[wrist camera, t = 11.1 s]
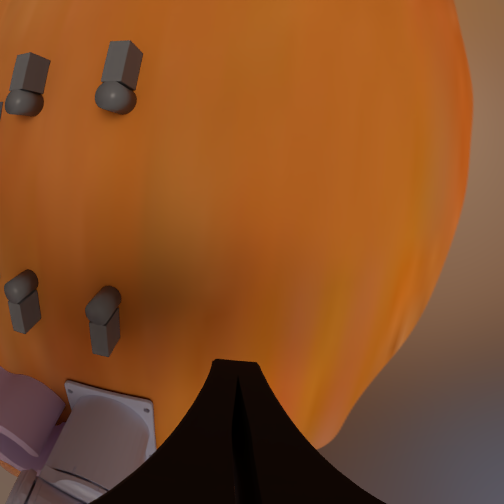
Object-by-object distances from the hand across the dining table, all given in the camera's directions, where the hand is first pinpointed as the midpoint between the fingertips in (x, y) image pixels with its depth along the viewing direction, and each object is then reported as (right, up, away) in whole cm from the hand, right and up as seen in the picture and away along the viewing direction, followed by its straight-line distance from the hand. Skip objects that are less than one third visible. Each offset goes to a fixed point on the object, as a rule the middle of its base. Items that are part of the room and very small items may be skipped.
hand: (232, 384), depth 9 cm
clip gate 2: (-8, +7, +8) cm, 13 cm away
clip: (-27, -10, +13) cm, 32 cm away
